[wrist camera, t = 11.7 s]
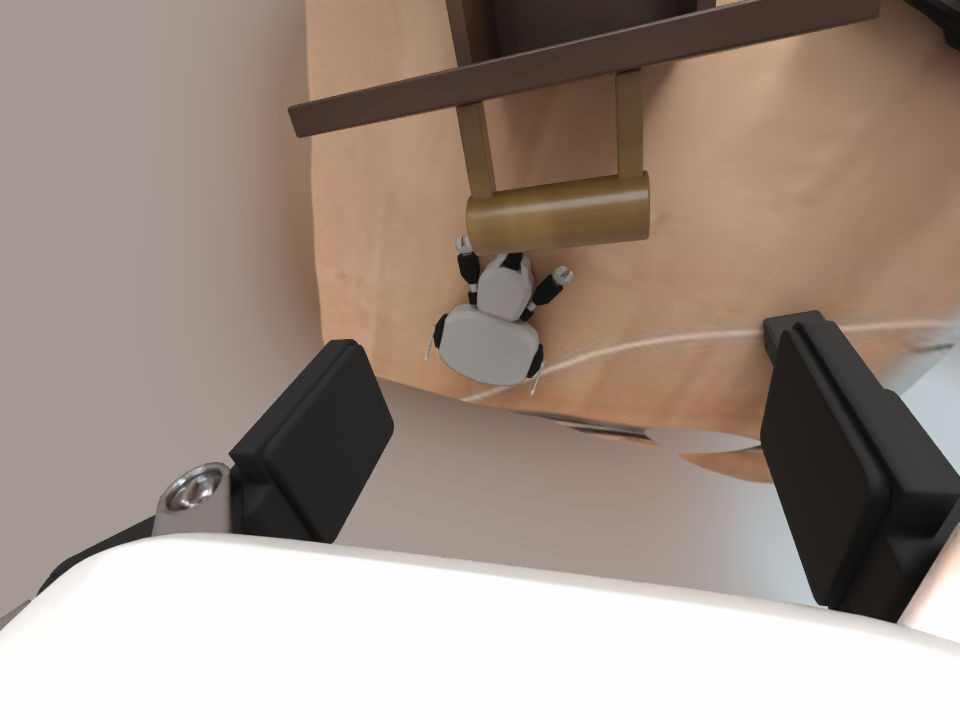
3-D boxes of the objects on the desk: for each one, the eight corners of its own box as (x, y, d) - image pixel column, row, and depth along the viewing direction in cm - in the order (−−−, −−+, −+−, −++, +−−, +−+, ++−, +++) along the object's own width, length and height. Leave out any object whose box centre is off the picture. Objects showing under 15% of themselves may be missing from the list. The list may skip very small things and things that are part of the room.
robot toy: (460, 221, 43) (433, 347, 52) (447, 234, 40) (420, 368, 48) (582, 259, 43) (535, 380, 51) (581, 276, 39) (530, 404, 47)
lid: (285, 107, 13) (347, 287, 15) (892, -35, 8) (832, 246, 11) (460, 90, 27) (476, 184, 30) (715, 34, 23) (707, 149, 26)
